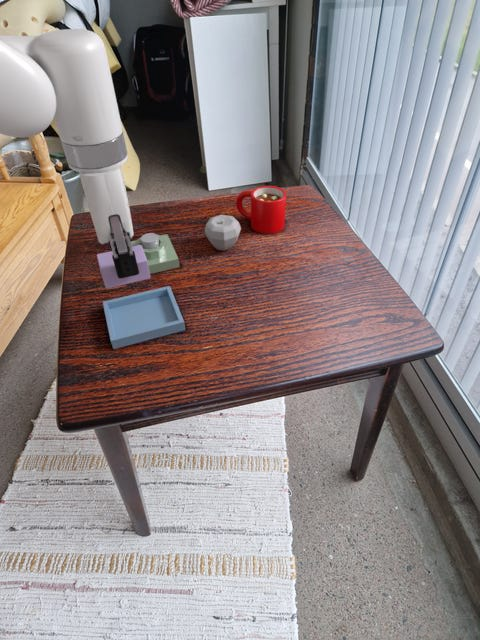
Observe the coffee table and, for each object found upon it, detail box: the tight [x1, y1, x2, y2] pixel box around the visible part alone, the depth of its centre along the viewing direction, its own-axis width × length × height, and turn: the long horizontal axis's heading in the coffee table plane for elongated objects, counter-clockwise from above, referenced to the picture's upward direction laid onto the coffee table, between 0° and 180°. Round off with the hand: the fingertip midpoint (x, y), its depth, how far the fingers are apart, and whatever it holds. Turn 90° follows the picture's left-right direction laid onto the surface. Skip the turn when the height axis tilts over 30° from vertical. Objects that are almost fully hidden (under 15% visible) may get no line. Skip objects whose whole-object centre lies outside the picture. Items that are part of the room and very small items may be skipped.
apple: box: [204, 214, 242, 252], centre depth 90 cm, size 8×8×7 cm
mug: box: [235, 185, 287, 235], centre depth 97 cm, size 8×12×8 cm, turn 67°
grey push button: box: [140, 232, 159, 249], centre depth 87 cm, size 4×4×2 cm
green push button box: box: [130, 233, 181, 275], centre depth 88 cm, size 12×10×4 cm
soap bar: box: [96, 245, 152, 290], centre depth 66 cm, size 7×4×4 cm, turn 110°
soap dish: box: [102, 285, 186, 350], centre depth 75 cm, size 13×11×2 cm
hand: (125, 265), depth 66 cm, fingers closed on soap bar, 4 cm apart
